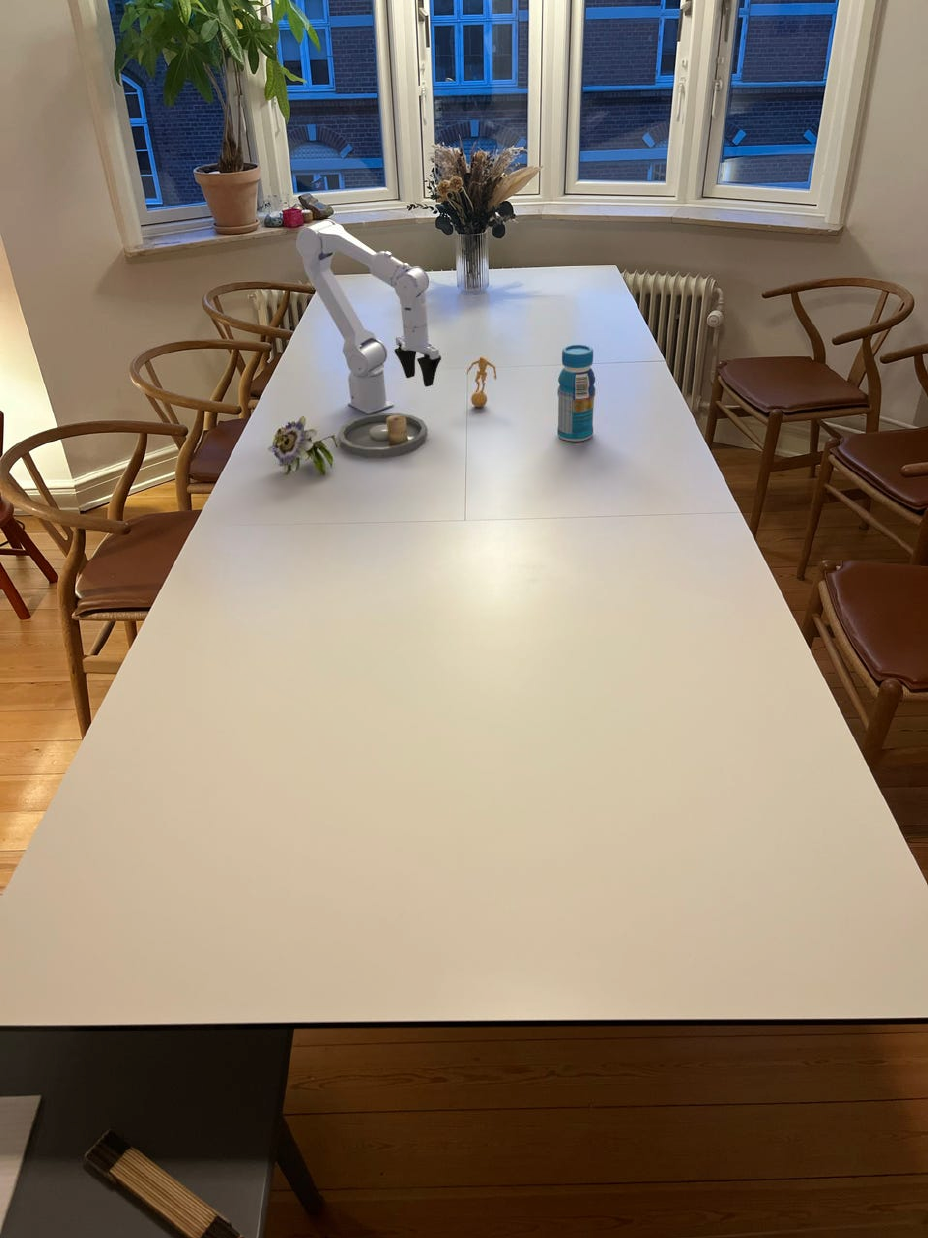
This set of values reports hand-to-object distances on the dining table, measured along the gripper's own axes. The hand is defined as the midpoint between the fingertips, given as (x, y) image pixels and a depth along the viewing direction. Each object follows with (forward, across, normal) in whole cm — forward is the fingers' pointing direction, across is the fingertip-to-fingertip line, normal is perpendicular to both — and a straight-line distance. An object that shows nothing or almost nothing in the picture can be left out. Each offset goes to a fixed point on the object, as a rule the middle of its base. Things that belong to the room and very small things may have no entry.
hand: (419, 381), depth 210 cm
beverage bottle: (+9, +35, +18) cm, 40 cm away
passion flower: (+9, +5, -36) cm, 37 cm away
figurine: (+9, +6, +14) cm, 17 cm away
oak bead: (+8, +11, -15) cm, 20 cm away
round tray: (+8, +5, -15) cm, 18 cm away
